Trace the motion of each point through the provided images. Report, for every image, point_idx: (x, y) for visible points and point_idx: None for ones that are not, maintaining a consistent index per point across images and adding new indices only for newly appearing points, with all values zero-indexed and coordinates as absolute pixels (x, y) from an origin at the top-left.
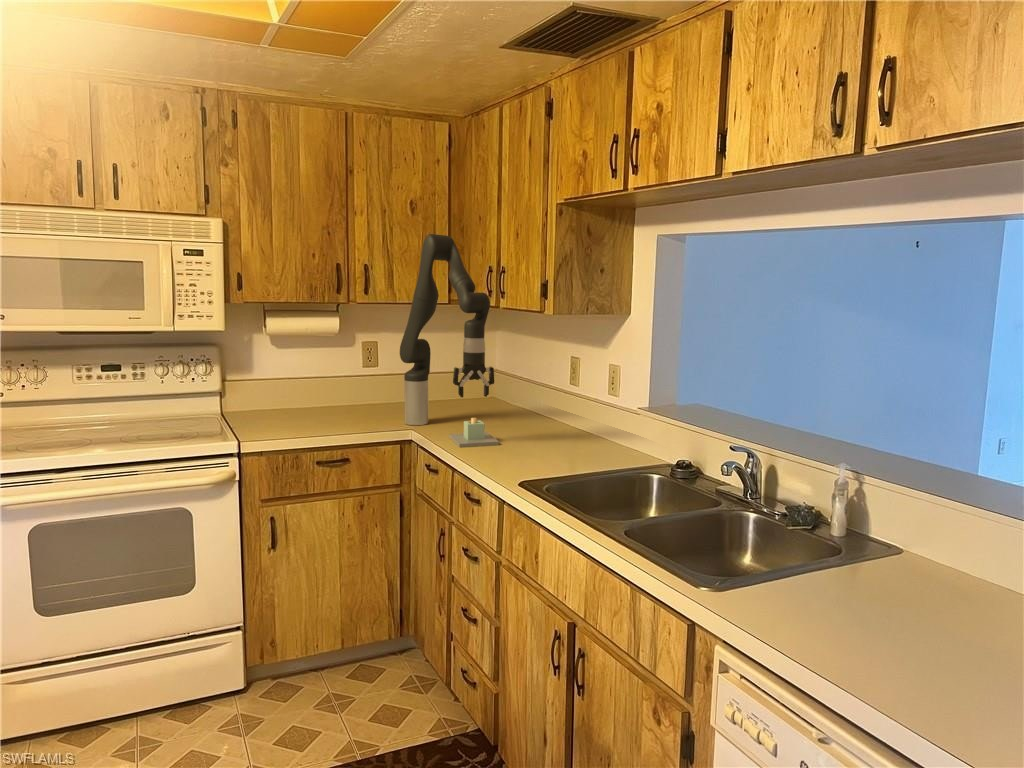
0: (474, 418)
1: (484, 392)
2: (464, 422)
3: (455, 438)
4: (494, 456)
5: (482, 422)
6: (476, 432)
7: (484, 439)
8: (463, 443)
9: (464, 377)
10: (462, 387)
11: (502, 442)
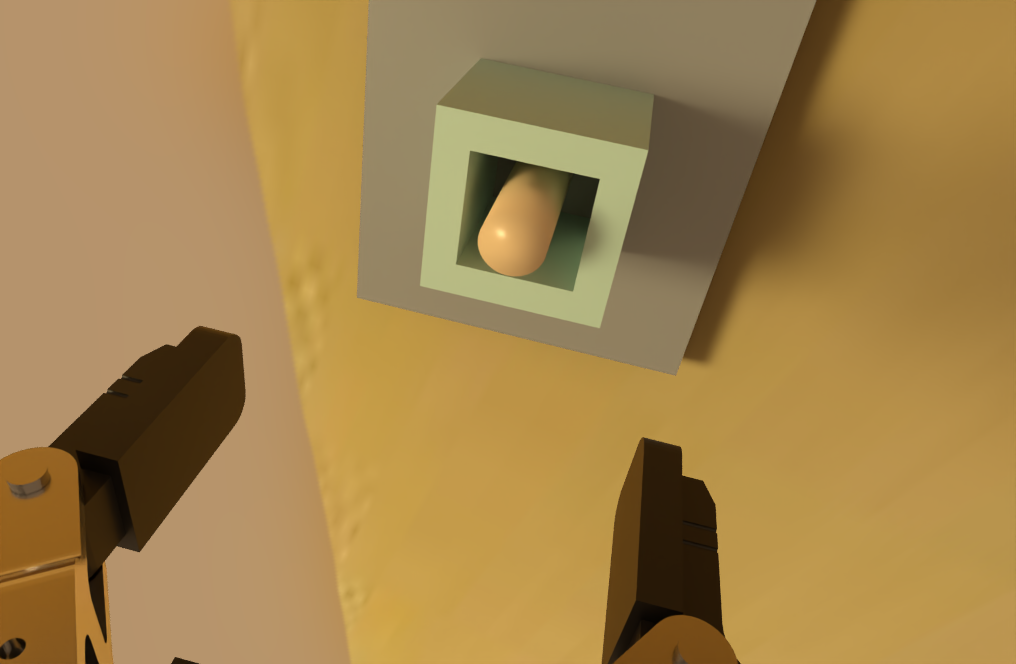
0: (512, 259)
1: (626, 518)
2: (435, 138)
3: (377, 107)
4: (501, 534)
5: (610, 268)
6: None
7: None
8: (389, 300)
9: (19, 660)
10: (124, 540)
11: (769, 282)
